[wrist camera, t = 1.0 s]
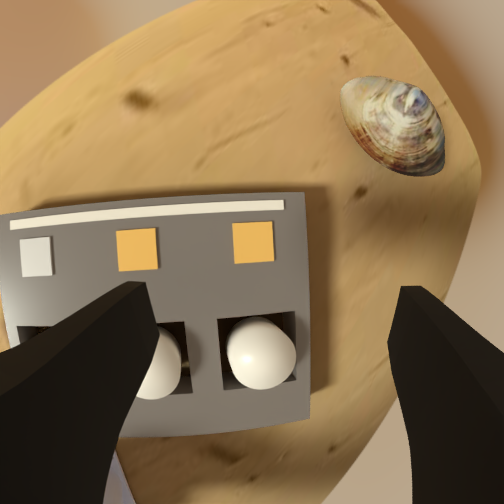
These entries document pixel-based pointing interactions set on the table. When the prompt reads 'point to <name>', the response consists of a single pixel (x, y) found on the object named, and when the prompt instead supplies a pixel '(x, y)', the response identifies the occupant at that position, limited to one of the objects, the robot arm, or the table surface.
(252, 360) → the button
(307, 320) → the switch console
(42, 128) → the table surface
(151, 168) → the table surface
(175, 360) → the button middle
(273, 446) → the table surface
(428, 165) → the seashell
